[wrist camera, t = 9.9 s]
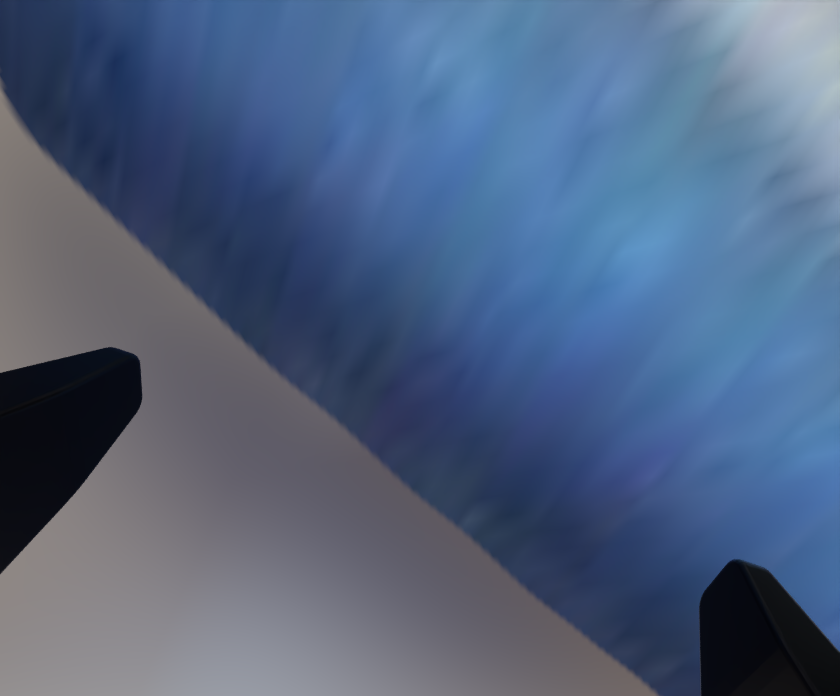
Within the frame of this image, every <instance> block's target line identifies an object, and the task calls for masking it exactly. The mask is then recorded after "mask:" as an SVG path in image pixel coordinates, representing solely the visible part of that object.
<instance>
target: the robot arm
mask: <svg viewBox="0 0 840 696" xmlns="http://www.w3.org/2000/svg"><path fill="white" fill-rule="evenodd" d="M141 402H142V385H141V369H140V361H139V359H138V357H137V356H136V355H134V354H132V353H129V352H126V351H123V350H120V349H117V348H113V347H108V348H103V349H99V350H95V351H91V352H86V353H82V354H78V355H74V356H70V357H65V358H61V359H57V360H53V361H48V362H44V363H40V364H36V365H32V366H27V367H23V368H19V369H15V370H10V371H6V372H3V373H0V574H1V573H2V572H3V571H4V569H6V567H7V566H8V565H9V564H10V563H11V562H12V561H13V560H14V559H15V558H16V557H17V556H18V555H19V553H20V552H21V551H22V550H23V549H24V548H25V547H26V546H27V545H28V544H29V543H30V542H31V541H32V539H33V538H34V537H35V536H36V535H37V534H38V533H39V532H40V531H41V530H42V529H43V528H44V526H45V525H46V524H47V523H48V522H49V521H50V520H51V519H52V518H53V517H54V516H55V515H56V514H57V513H58V511H59V510H60V509H61V508H62V507H63V506H64V505H65V504H66V503H67V502H68V500H69V499H70V498H71V497H72V496H73V495H74V494H75V493H76V491H77V490H78V489H79V488H80V487H81V485H82V484H83V483H84V482H85V480H86V479H87V478H88V476H89V475H90V474H91V473H92V471H93V470H94V469H95V467H96V466H97V465H98V463H99V462H100V461H101V459H102V458H103V457H104V455H105V454H106V453H107V451H108V450H109V449H110V447H111V446H112V445H113V443H114V442H115V441H116V439H117V438H118V437H119V436H120V434H121V433H122V432H123V430H124V429H125V428H126V426H127V425H128V424H129V422H130V421H131V419H132V418H133V417H134V415H135V414H136V413H137V411H138V410H139V408H140V405H141ZM699 621H700V670H701V696H840V652H839V651H838V650H837V648H836V647H835V646H834V645H833V644H832V643H831V641H830V640H829V639H828V638H827V637H826V636H825V635H824V633H823V632H822V631H821V630H820V629H819V628H818V627H817V625H816V624H815V623H814V622H813V621H812V620H811V618H810V617H809V616H808V615H807V614H806V613H805V612H804V610H803V609H802V608H801V607H800V606H799V605H798V603H797V602H796V601H795V600H794V599H793V598H792V597H791V595H790V594H789V593H788V592H787V591H786V590H785V589H784V587H783V586H782V585H781V584H780V583H779V582H778V580H777V579H776V578H775V577H774V576H773V575H772V574H771V573H770V572H769V571H768V570H767V569H765V568H763V567H761V566H758V565H755V564H752V563H749V562H747V561H744V560H740V559H734V560H732V561H730V562H729V563H727V565H726V566H725V567H724V568H723V569H722V571H721V572H720V573H719V574H718V575H717V577H716V578H715V579H714V580H713V581H712V583H711V584H710V585H709V586H708V587H707V589H706V590H705V591H704V593H703V595H702V597H701V601H700V606H699Z"/></svg>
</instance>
